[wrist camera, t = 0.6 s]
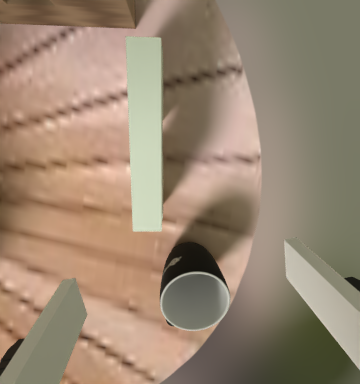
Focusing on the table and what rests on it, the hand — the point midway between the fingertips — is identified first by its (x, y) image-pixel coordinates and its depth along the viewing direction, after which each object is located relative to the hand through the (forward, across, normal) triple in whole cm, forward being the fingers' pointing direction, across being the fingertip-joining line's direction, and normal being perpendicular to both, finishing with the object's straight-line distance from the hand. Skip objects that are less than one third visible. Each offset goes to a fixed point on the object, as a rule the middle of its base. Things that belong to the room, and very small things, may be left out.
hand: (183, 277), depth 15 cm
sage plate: (+22, -2, +8) cm, 24 cm away
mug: (+23, 0, -14) cm, 27 cm away
